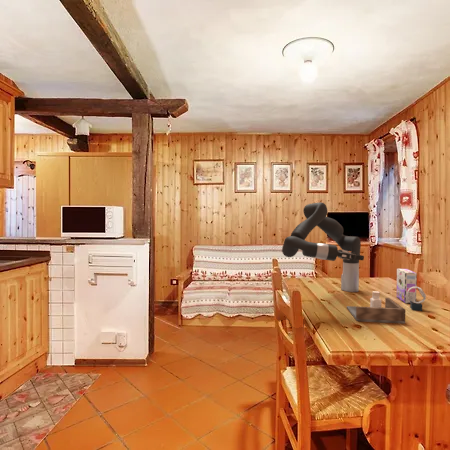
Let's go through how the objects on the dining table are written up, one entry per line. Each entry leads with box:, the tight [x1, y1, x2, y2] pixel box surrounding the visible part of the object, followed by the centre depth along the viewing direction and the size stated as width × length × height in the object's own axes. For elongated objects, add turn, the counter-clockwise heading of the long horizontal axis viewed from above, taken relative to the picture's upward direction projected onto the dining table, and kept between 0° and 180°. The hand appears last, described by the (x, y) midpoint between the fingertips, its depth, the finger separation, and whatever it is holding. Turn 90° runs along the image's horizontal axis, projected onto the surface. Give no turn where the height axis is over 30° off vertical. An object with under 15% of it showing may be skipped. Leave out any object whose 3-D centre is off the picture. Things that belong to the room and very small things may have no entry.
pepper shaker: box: [369, 290, 382, 308], centre depth 148 cm, size 4×4×10 cm
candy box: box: [396, 268, 418, 304], centre depth 173 cm, size 14×6×16 cm, turn 168°
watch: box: [407, 286, 427, 312], centre depth 157 cm, size 6×8×11 cm
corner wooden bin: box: [346, 297, 406, 324], centre depth 147 cm, size 20×20×6 cm
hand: (360, 256), depth 149 cm, fingers open, 8 cm apart
